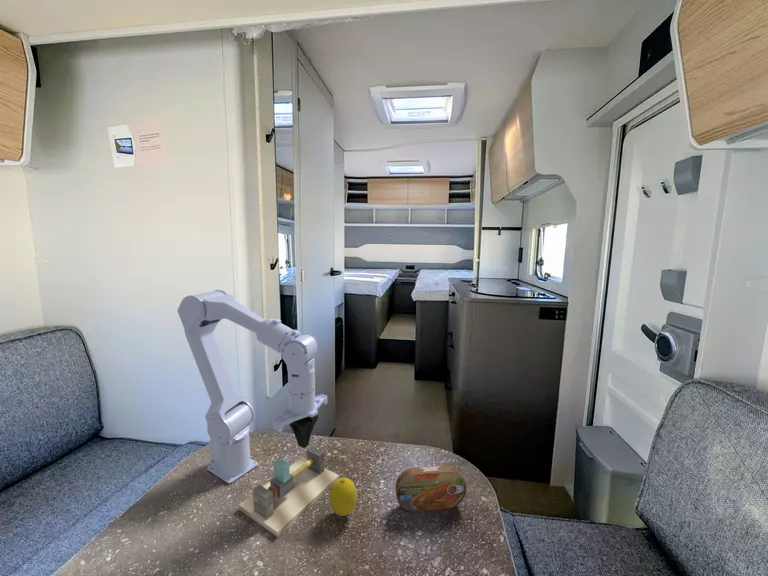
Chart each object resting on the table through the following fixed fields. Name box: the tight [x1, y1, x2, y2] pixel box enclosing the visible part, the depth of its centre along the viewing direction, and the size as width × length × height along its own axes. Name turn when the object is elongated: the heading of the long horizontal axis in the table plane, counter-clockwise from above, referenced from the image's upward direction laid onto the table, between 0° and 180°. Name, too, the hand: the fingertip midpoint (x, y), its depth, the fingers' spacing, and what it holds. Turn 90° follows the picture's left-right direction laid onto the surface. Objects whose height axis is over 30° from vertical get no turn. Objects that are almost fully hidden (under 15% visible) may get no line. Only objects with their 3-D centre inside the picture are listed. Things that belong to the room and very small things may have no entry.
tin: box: [395, 465, 467, 513], centre depth 70 cm, size 15×3×8 cm, turn 96°
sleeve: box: [269, 458, 294, 499], centre depth 70 cm, size 4×3×6 cm
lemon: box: [329, 477, 358, 517], centre depth 67 cm, size 6×6×8 cm
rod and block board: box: [238, 446, 340, 538], centre depth 72 cm, size 18×12×6 cm, turn 148°
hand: (303, 445), depth 75 cm, fingers closed
